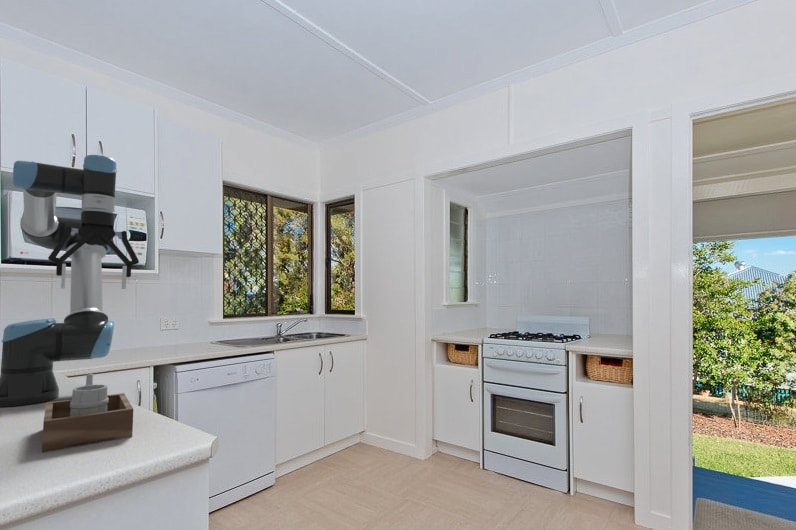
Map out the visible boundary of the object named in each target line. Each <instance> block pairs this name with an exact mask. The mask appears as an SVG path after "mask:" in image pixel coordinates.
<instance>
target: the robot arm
mask: <svg viewBox="0 0 796 530" xmlns="http://www.w3.org/2000/svg"><path fill="white" fill-rule="evenodd" d="M82 168H83V169H81V168H75V167H69V166H68V167H67V166H60V165H55V164H50V163H49V164H48V163H41V162H36V161H33V160H32V161H27V160H26V161H25V160H16V161H15V162H14V163H13V169H12V185H13V186H14V187H15V188H18V189H22V190H23V191H22V196H23V214H22V216H21V218H20V220H19V222H20V224H19V225H20V230H21V231H22V233H23V235H24V236H26V238H27V239H28V240H30V241H31V242H32V243H34V244H36V245H38V246H41V247H42V248H45V249H48V250H52V251H51V252H50V254H49V255H48V257H47V260H49V261H50V262H52V263H55V264H56V269H55V270H56V271H55V275H56V276H60V277H61V283H60V289H65V288H66V287H65V286H66V273H67V272H66V267H67V264H66V263H64V262H65V261H66V260H67V259H68V258H70V259H71V261H70V262H71V263H70V299H69V300H70V306H69V307H70V308H69V309H70V311H69V312H70V313H69V314H67V315H66V316H65V317H64V319H63V322H57V321H56V319H55V318H44V319H43V318H42V319H35V320H34V319H33V320H26V321H20V322H15V323H11V324H8V325H7V326H6V327H5V328H4V329H3V336H2V340H1V343H2V349H1V350H2V351H1V363H0V407H17V406H26V405H34V404H38V403H39V404H40V403H43V402H49V401H51V400H54V399H55V400H56V399H57V398H58V397H59V394H60V387H59V385H58V383H57V382H58V381H57V380H56V377H55V373H54V368H53V367H54V362H66V361H67V362H68V361H79V360H82V361H83V360H93V359H101V358H105V357H107V356H108V355H109V353H110V350H111V347H112V341H113V335H114V327H115V322H114V321H111V320H109V317H108V314H106V313H105V312H103V280H102V279H103V276H102V275H103V273H102V269H103V268H102V267H103V266H102V264H103V263H102V259H103V258H105V257H106V255H107V253H109V252H111V251H113V252H114V254H115V255H116V256H117V257H118V258H119V259H120V261H122V263H124V265H122V273H121V274H122V275H121V290H122V289H124V290H127V278H130V277H131V276H132V266H134V265H137V264H139V263H140V261H139V258H138V256H137V254H136V253H135V251H134V248H133V247H132V245H131V242H130V241H129V239H128V232H127V231H126V230H122V231H115V227H114V225H115V214H114V212H115V205H116V203H115V202H116V200H115V199H116V182H117V181H116V180H117V173H118V170H117V161H116V160H115V159H113V158H112V157H109V156H106V155H99V154H89V155H85V156H84V158H83V164H82ZM58 193H59V194H67V195H74V196H75V195H76V196H81V208H80V209H81V210H82V211H81V212H80V213H81V214H80V218H73V217H72V218H71V217H60V216H56V210H57V209H56V208H57V206H56V205H57V197H58V196H57V195H58ZM114 237H117V238H118V239H119V240H121V243H122V245H123V246H124V248H125V250H126V252H127V255H129V257H130V259H129V258H128V257H127V256H126V255H125V254H124V253H123V252H122V251H121V249H120V248H119V247H118V246H117V244H115V243H114V242H113V240H112V239H113V238H114ZM61 251H65V253H64V254H62V255H61V256H59V257H57V256H58V255H59V253H60V252H61Z"/></svg>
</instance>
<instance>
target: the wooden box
mask: <svg viewBox="0 0 796 530" xmlns="http://www.w3.org/2000/svg"><path fill="white" fill-rule="evenodd" d="M107 397H108V398H109V402H108V403H107V411H106V412H99V413H92V414H85V415H78V416H71V417H70V412H71V408H70V402H71V401H72V399H64V400H59V401H58V400H57V401H47V402H46V403H45V408H44V409H45V410H44V416H43V426H42V441H41V442H42V444H41V453H47V452H53V451H58V449H59V450H63V449H69V448H75V447H80V446H87V445H92V444H98V443H102V442H103V441H104V442H108V441H109V442H110V441H115V440H121V439H125V438H132V437H133V428H134V427H133V425H134V408H133V406H132V404H131V403H130V401H129V399H128V398H127V395H126V394H125V392H121V393H114V394H107Z"/></svg>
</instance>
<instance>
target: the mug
mask: <svg viewBox="0 0 796 530" xmlns="http://www.w3.org/2000/svg"><path fill="white" fill-rule="evenodd" d="M93 379H94V374H93V373H87V374H86V381H85V385H83V386H82V385H81V386H77V387H74V388H73V389H72V393H71V400H72V401H71V402H70V408H71V412H70V417H71V416H78V415H85V414H92V413H99V412H106V411H107V403H108V402H109V398H108V397H107V395H108V385H107V384H93V382H94V380H93Z"/></svg>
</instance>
